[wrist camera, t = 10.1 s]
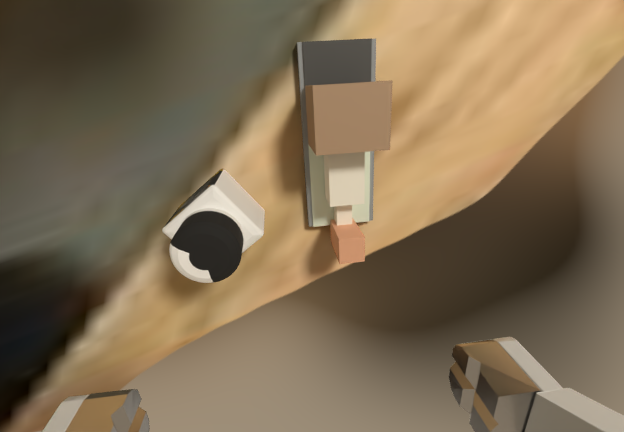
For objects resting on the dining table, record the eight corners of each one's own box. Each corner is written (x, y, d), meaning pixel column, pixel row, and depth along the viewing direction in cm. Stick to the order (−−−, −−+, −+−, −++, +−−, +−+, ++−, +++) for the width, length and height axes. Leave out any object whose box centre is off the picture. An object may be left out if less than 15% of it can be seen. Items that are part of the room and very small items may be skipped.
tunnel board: (296, 43, 33) (303, 31, 26) (373, 40, 33) (400, 27, 26) (308, 223, 40) (316, 252, 33) (370, 217, 41) (390, 244, 34)
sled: (323, 145, 36) (331, 155, 31) (356, 143, 36) (370, 152, 31) (327, 242, 40) (335, 264, 35) (356, 239, 40) (368, 260, 36)
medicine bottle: (223, 166, 36) (202, 201, 25) (266, 210, 39) (264, 259, 28) (179, 206, 38) (140, 255, 27) (223, 246, 40) (205, 306, 29)
